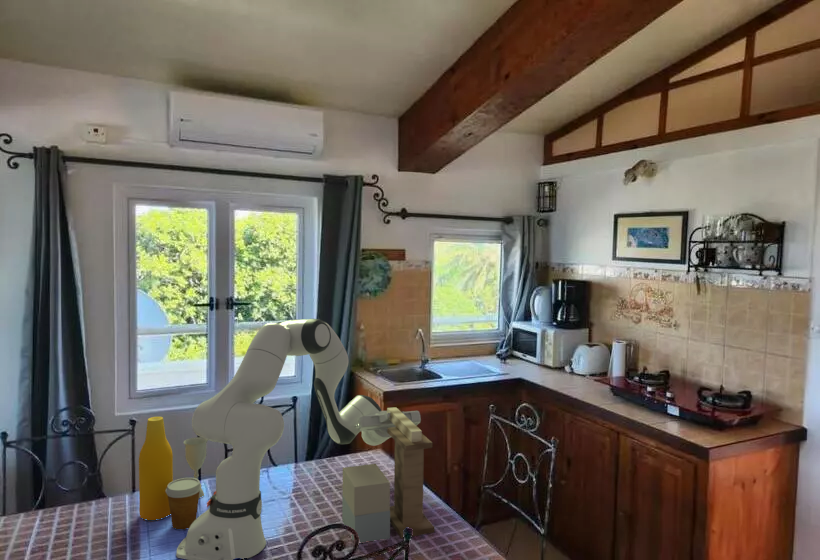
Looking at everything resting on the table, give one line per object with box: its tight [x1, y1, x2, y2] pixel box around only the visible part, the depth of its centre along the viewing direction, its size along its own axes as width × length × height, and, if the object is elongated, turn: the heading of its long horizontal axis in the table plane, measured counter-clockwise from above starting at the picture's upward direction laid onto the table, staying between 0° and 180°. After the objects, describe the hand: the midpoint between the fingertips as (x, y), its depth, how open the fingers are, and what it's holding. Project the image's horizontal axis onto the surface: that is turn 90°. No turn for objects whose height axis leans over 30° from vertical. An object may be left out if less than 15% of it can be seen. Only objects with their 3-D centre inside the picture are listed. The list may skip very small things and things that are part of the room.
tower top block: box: [342, 463, 391, 516], centre depth 157 cm, size 14×10×8 cm
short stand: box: [387, 427, 435, 539], centre depth 161 cm, size 16×10×26 cm, turn 21°
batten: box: [386, 406, 423, 442], centre depth 165 cm, size 22×3×3 cm, turn 21°
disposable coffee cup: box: [166, 477, 202, 530], centre depth 158 cm, size 10×10×12 cm
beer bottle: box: [138, 416, 174, 520], centre depth 164 cm, size 9×9×29 cm
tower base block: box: [341, 494, 391, 543], centre depth 157 cm, size 14×10×8 cm
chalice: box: [183, 436, 209, 499], centre depth 176 cm, size 7×7×18 cm
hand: (395, 414), depth 171 cm, fingers closed on batten, 3 cm apart
